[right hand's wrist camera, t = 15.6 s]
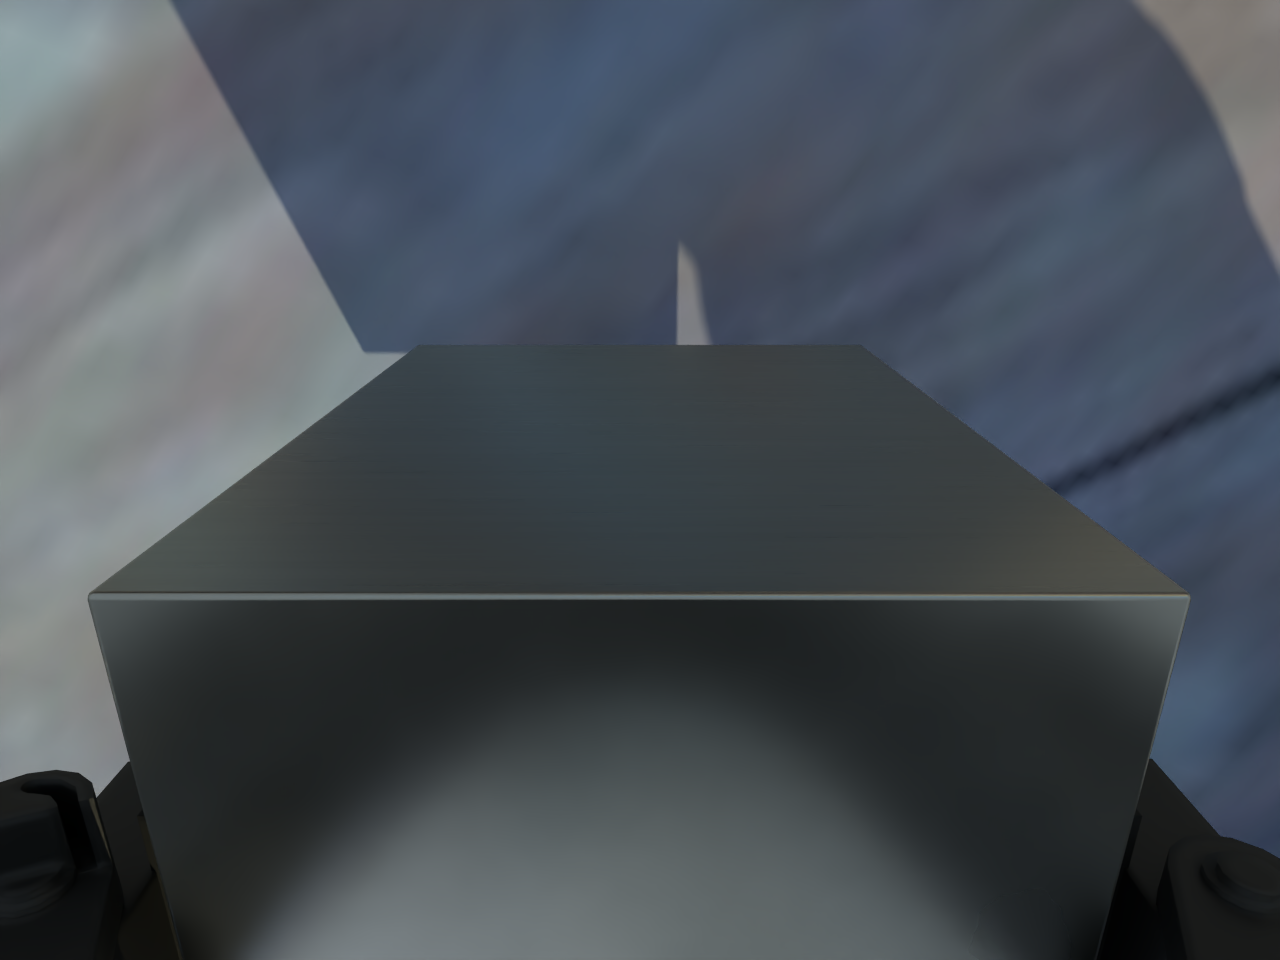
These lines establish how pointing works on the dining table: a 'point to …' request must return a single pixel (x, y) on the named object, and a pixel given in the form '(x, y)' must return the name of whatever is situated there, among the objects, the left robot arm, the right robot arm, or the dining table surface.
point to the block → (639, 674)
